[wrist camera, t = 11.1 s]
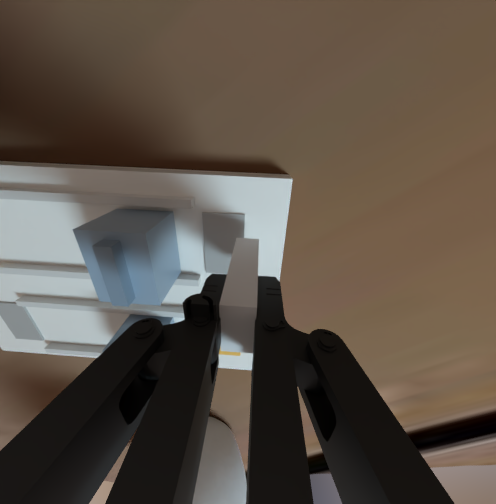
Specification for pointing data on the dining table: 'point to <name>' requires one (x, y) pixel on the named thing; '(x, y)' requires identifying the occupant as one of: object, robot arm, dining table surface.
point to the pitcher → (220, 468)
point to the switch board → (102, 202)
